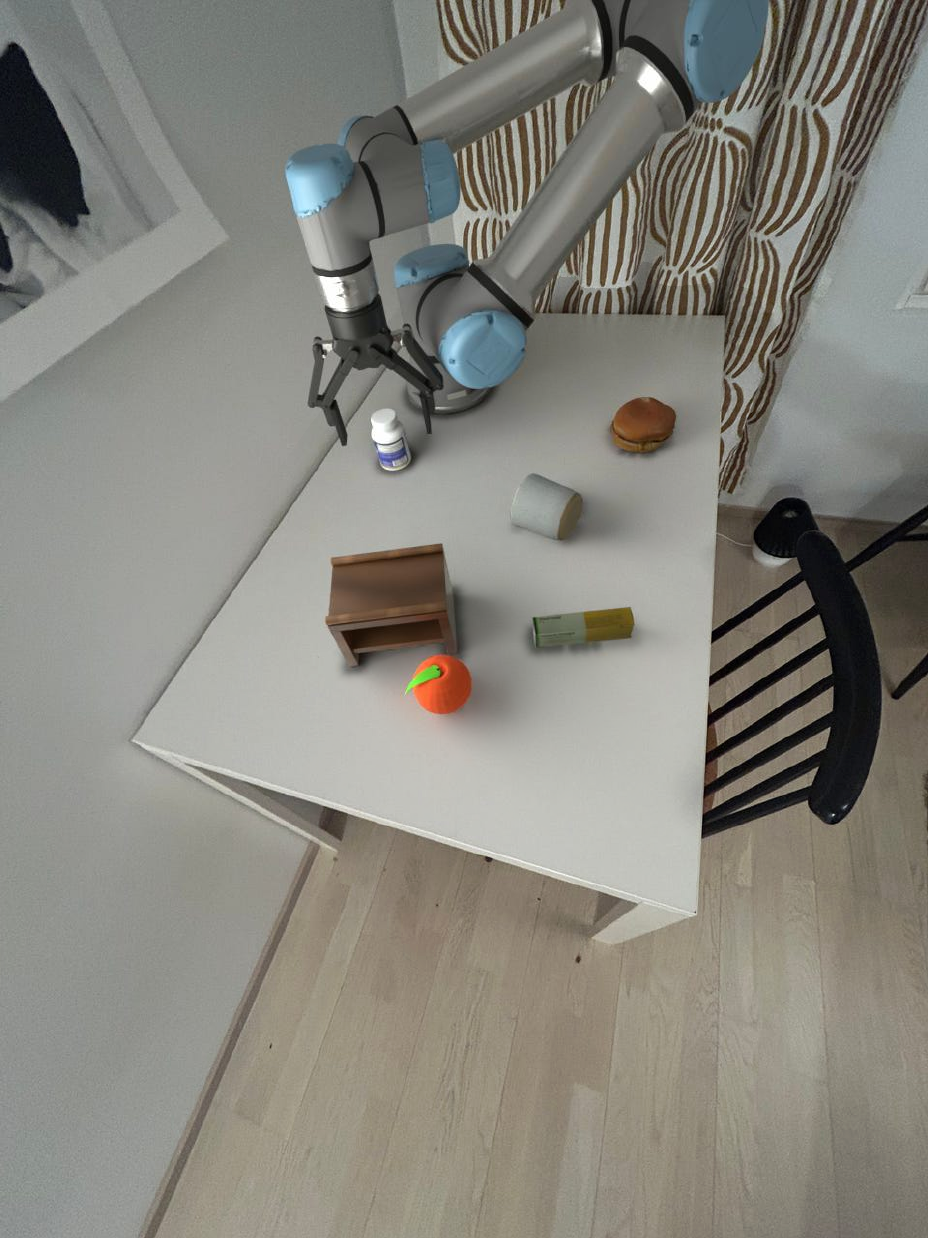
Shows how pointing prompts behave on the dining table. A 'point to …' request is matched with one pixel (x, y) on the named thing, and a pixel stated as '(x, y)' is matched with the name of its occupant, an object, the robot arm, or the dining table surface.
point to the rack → (391, 601)
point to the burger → (643, 425)
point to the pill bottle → (390, 440)
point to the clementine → (441, 684)
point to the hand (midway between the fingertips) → (386, 435)
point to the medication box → (583, 627)
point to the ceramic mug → (546, 507)
